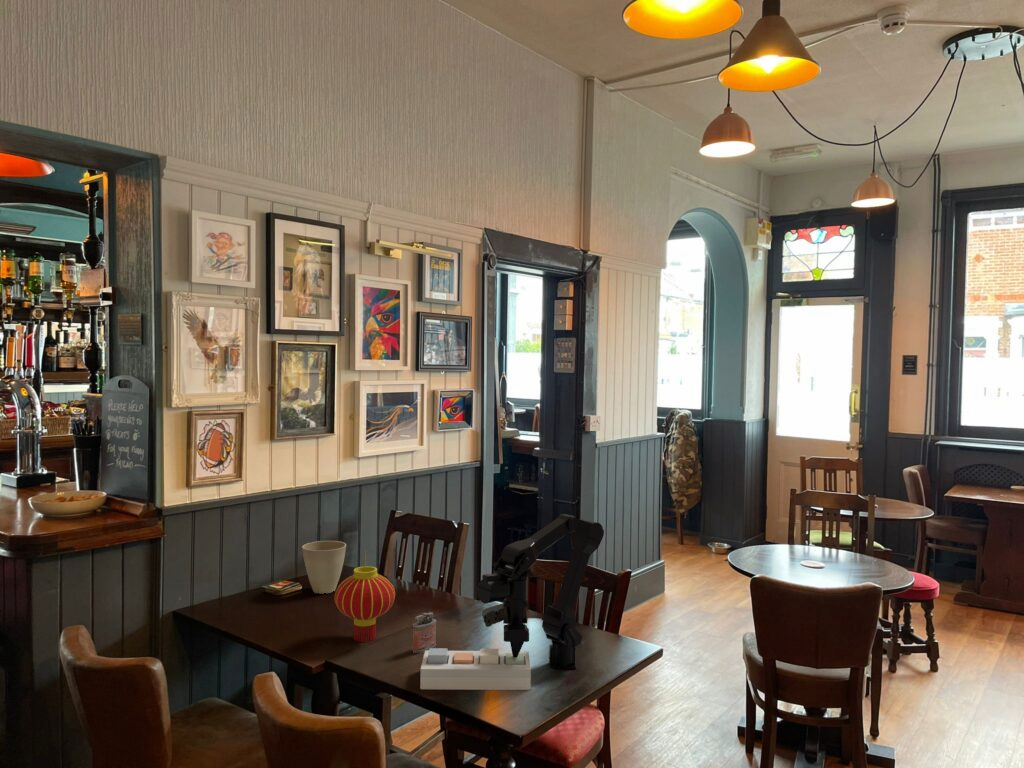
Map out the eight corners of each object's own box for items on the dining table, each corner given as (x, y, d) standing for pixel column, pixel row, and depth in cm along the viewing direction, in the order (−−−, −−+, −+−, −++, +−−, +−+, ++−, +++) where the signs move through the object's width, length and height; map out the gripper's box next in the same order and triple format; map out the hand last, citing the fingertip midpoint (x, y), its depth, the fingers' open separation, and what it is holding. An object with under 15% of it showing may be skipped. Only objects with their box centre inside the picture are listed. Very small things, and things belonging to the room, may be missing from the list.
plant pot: (348, 584, 271) (349, 540, 270) (342, 597, 256) (342, 550, 255) (306, 584, 270) (307, 540, 269) (297, 597, 255) (297, 550, 254)
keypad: (528, 670, 197) (528, 651, 197) (530, 690, 185) (530, 669, 185) (424, 669, 197) (425, 650, 197) (420, 689, 185) (420, 669, 185)
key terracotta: (472, 662, 193) (472, 652, 193) (472, 669, 189) (472, 660, 188) (454, 662, 193) (454, 652, 193) (453, 669, 188) (454, 659, 188)
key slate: (447, 658, 193) (447, 648, 193) (446, 665, 188) (446, 655, 188) (429, 657, 193) (429, 648, 193) (427, 665, 188) (428, 655, 188)
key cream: (498, 658, 193) (498, 648, 193) (498, 665, 189) (498, 655, 189) (480, 658, 193) (480, 648, 193) (479, 665, 189) (480, 655, 189)
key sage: (523, 663, 193) (523, 653, 193) (524, 670, 189) (524, 660, 189) (505, 662, 193) (505, 653, 193) (505, 670, 189) (505, 660, 189)
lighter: (430, 643, 215) (430, 608, 215) (438, 646, 213) (439, 611, 212) (409, 651, 209) (409, 615, 208) (417, 654, 206) (418, 618, 206)
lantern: (404, 631, 224) (405, 531, 224) (378, 652, 208) (379, 544, 207) (352, 625, 229) (353, 526, 228) (323, 645, 212) (324, 539, 211)
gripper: (484, 584, 200) (483, 643, 200) (483, 607, 181) (482, 671, 182) (526, 585, 200) (525, 643, 200) (529, 608, 181) (528, 672, 182)
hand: (515, 656), depth 191 cm, fingers closed, pressing on key sage
